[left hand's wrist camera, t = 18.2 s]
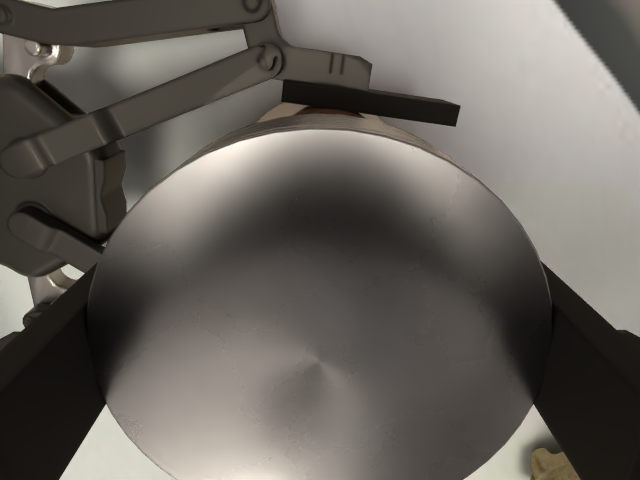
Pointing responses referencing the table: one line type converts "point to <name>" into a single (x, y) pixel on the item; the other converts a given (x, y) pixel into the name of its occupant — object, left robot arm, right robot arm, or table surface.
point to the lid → (319, 310)
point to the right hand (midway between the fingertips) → (420, 230)
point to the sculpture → (551, 466)
